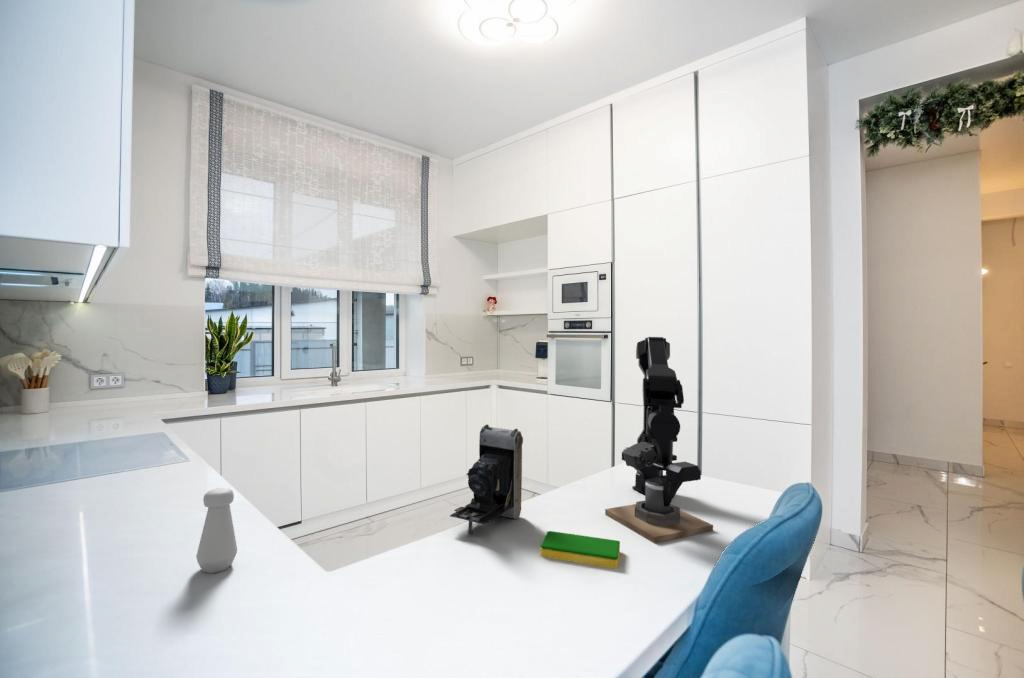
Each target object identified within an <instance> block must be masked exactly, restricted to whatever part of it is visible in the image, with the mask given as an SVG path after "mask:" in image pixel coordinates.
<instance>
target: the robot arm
mask: <svg viewBox="0 0 1024 678" xmlns="http://www.w3.org/2000/svg"><path fill="white" fill-rule="evenodd" d="M635 348H636V349H635V357H636V360H637V359H638V367H639V369H640V371H641V372H642V375H643V379H642V403H643V421H642V424H643V425H642V426H643V427H642V430H641V432H640V434H639V435H638V437H637V439H636V443H634V444H633V445H631V446H629V447H624V448H623V449H622V451H621V461H624V462H625V464H626V466H627V467H632V468H633V469H634V470H636V473H635V485H632V487H631V488H632V490H635V491H637V492H639V493H641V494H644V495H645V491H646V485H645V483H646V479H649V478H660V479H661V480H662V482H663V500H664V506H669V505H670V504H672V501H673V500H674V497H675V495H676V494H677V493H678V490H679V489H680V487H682V486H681V485H683V483H686V482H693V481H699V480H701V478H702V477H701V475H702V471H701V468H700V467H699V466H698V465H696V464H694V463H691V462H687V461H680V462H679V461H678V459H677V458H678V456H677V455H675V454H674V453H673V452H674V443H675V442H678V436H679V433H680V431H681V423H680V420H679V419H678V417H677V416H676V415H675V409H682V407H683V405H684V402H685V398H684V391H683V385H682V384H681V381H680V379H678V378H677V377H678V376H677V374H676V371H675V370H674V369H672V368H671V367H669V363H668V360H669V359H670V358H671V343H670V342H668V341H667V338H665V337H663V336H647V337H645V338H644V339H643V340H640V341H638V342H636V347H635ZM673 461H678V462H673ZM664 472H665V474H664Z"/></svg>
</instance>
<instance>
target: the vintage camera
mask: <svg viewBox="0 0 1024 678" xmlns="http://www.w3.org/2000/svg"><path fill="white" fill-rule="evenodd" d="M478 441H479V444H478V446H479V447H478V450H479V451H478V452H479V453H478V454H479V455H478V456H479V458H478V460H477V461H476V462H474V463H473V464H472V467H471V468H469V469H468V472H467V473H466V475H467V478H468V480H467V484H468V487H469V489H470V490H471V492H472V493H473V498H471V501H470V503H468V504H466V505H465V506H460V507H456V508H455V509H454V513H451V514H450V515H449V517H451V518H456V519H461V520H464V521H468V529H467V530H468V531H467V535H468V536H472V535H473V524H474V523H475V524H476V523H477V524H479V525H480V524H481V525H483V526H485V525H486V524H488V523H490V522H491V521H493V520H495V519H496V518H498V517H500V516H501V517H504V518H505V517H506V518H508V519H509V518H510V519H513V520H515V519H516V520H517V519H519V518H520V516H521V513H522V490H523V489H522V486H523V484H522V483H523V481H522V480H523V479H522V478H523V476H522V475H523V444H524V437H523V436H522V431H520V430H519V429H518V428H514V429H507V428H502V427H491V426H490V425H489V424H484V426H482V427H481V429H480V432H479V440H478ZM466 475H465V476H466Z"/></svg>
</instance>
